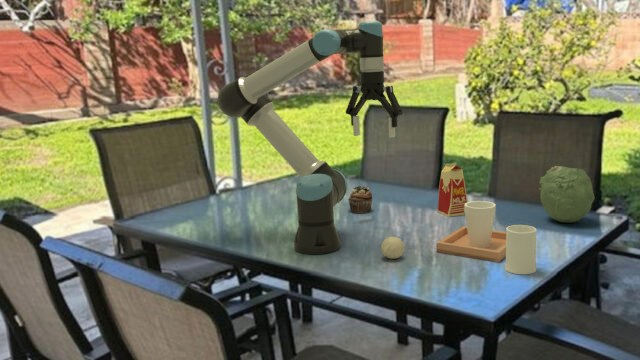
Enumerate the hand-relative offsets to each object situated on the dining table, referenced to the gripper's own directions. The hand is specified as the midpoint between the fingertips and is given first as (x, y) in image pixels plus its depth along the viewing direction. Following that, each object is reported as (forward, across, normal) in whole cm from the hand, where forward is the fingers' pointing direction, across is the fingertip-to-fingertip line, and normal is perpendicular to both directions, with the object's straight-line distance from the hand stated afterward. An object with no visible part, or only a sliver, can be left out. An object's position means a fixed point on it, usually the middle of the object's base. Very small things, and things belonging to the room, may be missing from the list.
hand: (374, 136), depth 206 cm
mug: (+35, -52, +5) cm, 62 cm away
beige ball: (+35, -15, +16) cm, 41 cm away
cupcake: (+35, +24, -27) cm, 50 cm away
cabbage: (+35, -49, -46) cm, 76 cm away
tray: (+35, -34, -6) cm, 49 cm away
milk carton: (+35, -9, -40) cm, 54 cm away
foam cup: (+34, -34, -6) cm, 48 cm away
